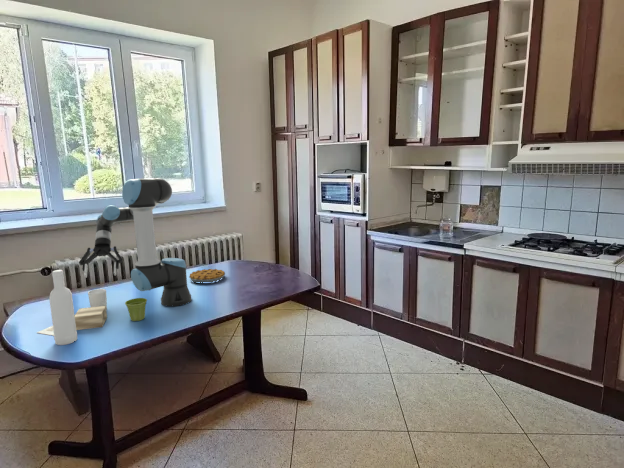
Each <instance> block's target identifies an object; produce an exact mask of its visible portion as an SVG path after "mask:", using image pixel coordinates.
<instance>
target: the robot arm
mask: <svg viewBox="0 0 624 468" xmlns="http://www.w3.org/2000/svg"><path fill="white" fill-rule="evenodd" d="M121 192H122V193H121V195H122V200H123V202H124V203H125V204H126V205H128V207H127V206H126V207H117V206H116V205H112V204H111V205H108V206H106V207H105V208H104V209H103V211H102V213H101V214H100V215H98V216H97V220H96V229H95V239H94V240H95V241H94V247H93V248H91V247H87V249H86V252H85V253H84V254H83V256H82V257H81V259H80V260H79V261H78V264H79V265H80V266H82V268H81V269H82V271H83V272H84V273H83V276H84V278H85V279H86V278H88V270H89V269H88V268H89V266H88V265H89V264H90V263H91V262H92V261H93V260H94V259H96V258H97V257H106V256H107V257H109V258H110V259H111V260H112V261H113V275H114V276H117V270H118V269H119V268H120V264H122V263H124V261H123V259H122V256H121V255H120V253H119V251H118V249H117V246H116V245H114V246H113V247H112V245H111V243H112V229H113V226H114V225H115V223H119V222H121V223H122V222H129V221H133V224H134V233H135V244H136V246H135V247H136V251H137V252H136V253H137V260H136V262H135V263H134V267H135V268H133V269H131V271H130V279H131V281H132V284H133V285H134V287H135V288H136V289H137V290H138V291H140V292H146V291H151V290H155V289H157V288H161V287H163V289H162V294H161V298H160V303H161V305H162V306H165V307H180V306H184V305H186V303H187V304H189V303H190V302H191V301H192V295H191V292H190V289H189V286H188V281H187V280H188V279H187V265H186V260H184V259H182V258H178V257H166V258H164V257H163V258H162V259H161V260H160V259H159V258H158V256H157V254H158V253H157V246H156V234H155V226H154V225H155V224H154V214H153V210H154V209H155V207H156V206H158V205H159V204H164V203H166V202H168V201H169V199H170V198H171V197H172V194H173V189H172V186H171V184H170V183H169V182H168V181H167V180H165V179H163V178H160V177H156V178H155V177H150V178H148V177H147V178H133V179H127V180H126V181H125V183H124V184H123V186H122V190H121ZM111 251H112V252H114V254H115V255H113V254H112V253H111ZM115 256H116V257H117V258H116V257H115ZM188 302H189V303H188ZM183 304H184V305H183ZM179 305H180V306H179Z"/></svg>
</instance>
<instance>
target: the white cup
mask: <svg viewBox="0 0 624 468" xmlns="http://www.w3.org/2000/svg"><path fill="white" fill-rule="evenodd" d="M87 295H88V301H89V306H90V307H99V306H106V311H107V310H108V307H107V305H108V302H107V301H108V297H107V289H106V288H97V289H91V290H88V291H87Z"/></svg>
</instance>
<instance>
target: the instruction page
mask: <svg viewBox="0 0 624 468" xmlns="http://www.w3.org/2000/svg"><path fill="white" fill-rule="evenodd" d="M36 334H39V335H40V334H41V335H45V336H51V335H52V336H51V337H53V336H54V330H53V325H50V326H49V327H46V328H44V329H41V330H39V331H36Z"/></svg>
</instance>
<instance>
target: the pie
mask: <svg viewBox="0 0 624 468" xmlns="http://www.w3.org/2000/svg"><path fill="white" fill-rule="evenodd" d="M225 275H226V272H225V271H224V270H223V269H217V268H215V269H212V268H209V269H206V268H205V269H202V270H201V269H198V270H196V271H192V272H191V273H189V276H188V278H189V279H190V280H191V282H192V281H193V282H200V283H201V282H202V283H203V282H213V281H217V280H220V279H221V278H224V276H225ZM193 282H192V283H193Z"/></svg>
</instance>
